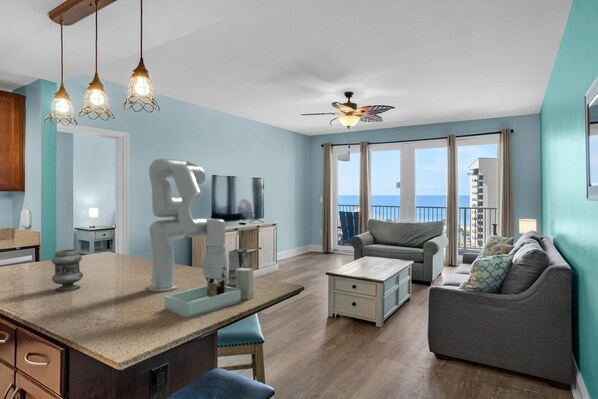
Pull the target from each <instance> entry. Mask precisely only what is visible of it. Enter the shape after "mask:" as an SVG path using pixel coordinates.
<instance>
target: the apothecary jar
mask: <svg viewBox="0 0 598 399" xmlns="http://www.w3.org/2000/svg"><path fill="white" fill-rule="evenodd" d="M82 260H83V256H82V255H81V254H80V253H79V251H78V249H76V248H74V249H73V248H72V249H71V248H70V249H63V250H62V249H61V250H56V252H55V255H54V256H53V257H52V258H51V263H52V264H54V275H52V276H51V280H52V282H53V283H54V284H57V285H61V286H58V287H56V288H55V289H54V291H55V292H56V293H57V292H58V293H66V291H68V292H73V290H74V291H76V290H77V291H78V290H79V289H81V286H80V285H78V284H75V283H77V282H79V281H81V279H83V277H84V274H83V272H82V271H81V270H80V269H81V268H80V262H81V261H82Z"/></svg>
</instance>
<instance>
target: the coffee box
mask: <svg viewBox="0 0 598 399" xmlns="http://www.w3.org/2000/svg"><path fill="white" fill-rule="evenodd" d="M239 268H248V249H246V248H245V249H238V248H237V249H233V250H231V251H229V252H228V278H229V280H228V285H229V286H236V270H237V269H239Z"/></svg>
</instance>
